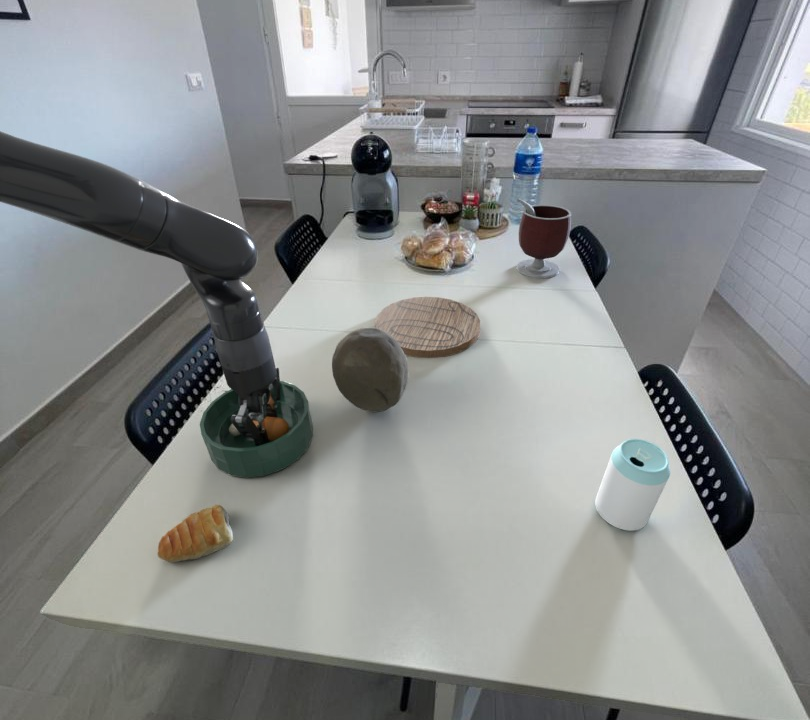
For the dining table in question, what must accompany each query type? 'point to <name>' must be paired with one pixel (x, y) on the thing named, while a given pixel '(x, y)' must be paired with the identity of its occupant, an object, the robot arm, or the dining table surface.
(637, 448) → the can
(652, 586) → the dining table surface
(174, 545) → the pastry
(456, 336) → the trivet
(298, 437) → the green faceted bowl
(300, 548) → the dining table surface
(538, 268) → the mate gourd
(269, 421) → the drumstick
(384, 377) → the grey clay lump
